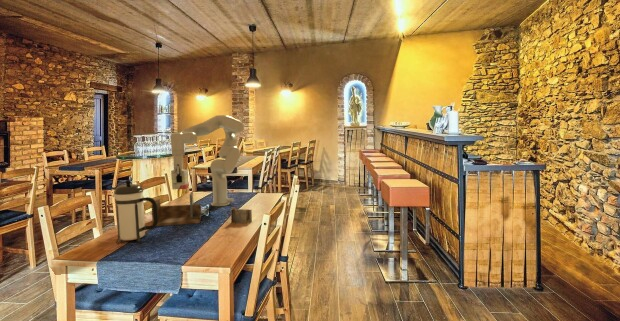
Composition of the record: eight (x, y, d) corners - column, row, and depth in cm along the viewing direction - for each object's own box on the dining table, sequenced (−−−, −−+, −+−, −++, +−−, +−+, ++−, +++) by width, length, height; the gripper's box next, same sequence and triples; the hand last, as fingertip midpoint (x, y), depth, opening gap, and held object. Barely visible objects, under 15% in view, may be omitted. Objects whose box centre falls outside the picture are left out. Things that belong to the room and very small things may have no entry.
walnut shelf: (201, 215, 219) (200, 196, 218) (199, 222, 204) (198, 202, 202) (157, 218, 213) (156, 199, 212) (152, 226, 198) (151, 205, 196)
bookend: (200, 214, 216) (199, 191, 214) (200, 218, 207) (199, 194, 205) (191, 214, 214) (190, 192, 213) (190, 218, 206) (189, 195, 204)
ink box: (188, 187, 225) (187, 169, 223) (185, 189, 220) (184, 170, 218) (175, 187, 225) (174, 169, 224) (172, 189, 220) (170, 170, 219)
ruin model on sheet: (231, 223, 204) (230, 206, 203) (232, 222, 207) (232, 205, 206) (250, 224, 202) (249, 207, 201) (251, 222, 205) (251, 206, 204)
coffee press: (123, 247, 165) (118, 184, 161) (110, 240, 175) (105, 180, 172) (159, 238, 178) (156, 179, 174) (145, 231, 188) (142, 175, 185)
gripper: (173, 151, 227) (175, 179, 229) (169, 154, 210) (171, 184, 213) (185, 151, 229) (187, 178, 231) (183, 153, 212) (185, 183, 214)
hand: (180, 181), depth 222 cm, fingers closed on ink box, 6 cm apart
